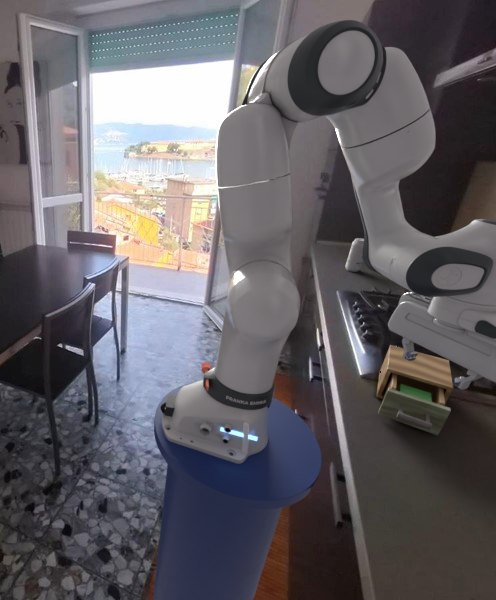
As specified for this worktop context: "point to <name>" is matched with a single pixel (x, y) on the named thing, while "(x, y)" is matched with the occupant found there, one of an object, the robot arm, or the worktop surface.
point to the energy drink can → (355, 255)
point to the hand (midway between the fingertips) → (432, 372)
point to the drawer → (414, 405)
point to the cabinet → (415, 370)
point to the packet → (415, 392)
